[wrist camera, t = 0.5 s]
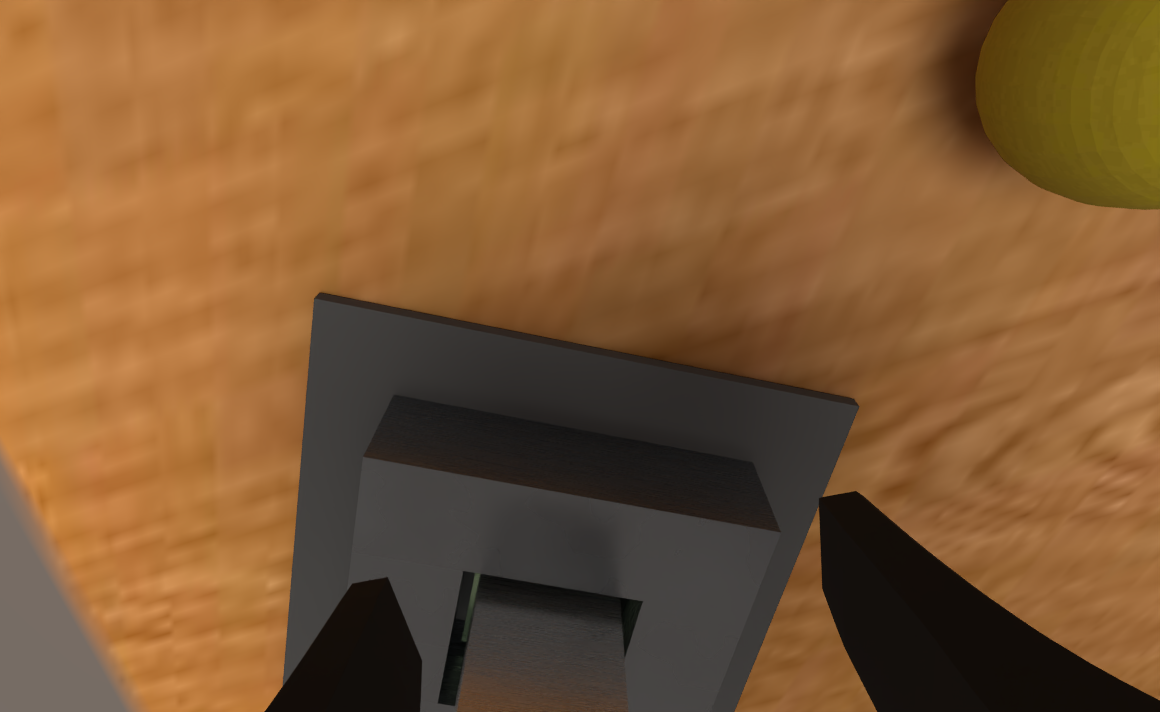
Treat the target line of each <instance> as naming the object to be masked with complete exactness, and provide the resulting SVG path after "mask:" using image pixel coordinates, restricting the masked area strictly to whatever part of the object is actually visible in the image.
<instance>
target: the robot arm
mask: <svg viewBox="0 0 1160 712" xmlns="http://www.w3.org/2000/svg"><path fill="white" fill-rule="evenodd" d="M819 514H820V540H821V565H822V589H823V592H824V594H825V597H826V600H827V603H828V605H829V608H830V611H831V613H832V616H833V619H834V622H835V624H836V627H837V629H838V632H839V634H840V637H841V640H842V642H843V645H844V647H845V649H846V651H847V653H848V655H849V657H850V659H851V661H852V663H853V665H854V667H855V669H856V671H857V673H858V675H859V677H860V679H861V681H862V683H863V685H864V687H865V689H866V691H867V693H868V695H869V696H870V698H871V700H872V702H873V704H874V706H875V708H876V710H877V712H1160V700H1158V699H1156V698H1154V697H1152V696H1150V695H1148V694H1146V693H1144V692H1142V691H1140V690H1138V689H1137V688H1135V687H1133V686H1131V685H1129V684H1127V683H1125V682H1123V681H1121V680H1119V679H1117V678H1116V677H1114V676H1112V675H1110V674H1108V673H1107V672H1105V671H1103V670H1101V669H1100V668H1098V667H1096V666H1094V665H1092V664H1091V663H1089V662H1087V661H1086V660H1084V659H1082V658H1081V657H1079V656H1077V655H1076V654H1074V653H1072V652H1071V651H1069V650H1067V649H1066V648H1064V647H1062V646H1061V645H1059V644H1058V643H1056V642H1054V641H1053V640H1051V639H1049V638H1048V637H1046V636H1045V635H1043V634H1042V633H1040V632H1039V631H1037V630H1035V629H1034V628H1032V627H1031V626H1029V625H1028V624H1026V623H1025V622H1023V621H1022V620H1020V619H1019V618H1018V617H1016V616H1015V615H1013V614H1012V613H1010V612H1009V611H1007V610H1006V609H1005V608H1003V607H1002V606H1000V605H999V604H997V603H996V602H995V601H993V600H992V599H990V598H989V597H988V596H986V595H985V594H983V593H982V592H981V591H979V590H978V589H977V588H975V587H974V586H973V585H971V584H970V583H968V582H967V581H966V580H965V579H963V578H962V577H961V576H959V575H958V574H957V573H956V572H954V571H953V570H952V569H950V568H949V567H948V566H946V565H945V564H944V563H943V562H941V561H940V560H939V559H937V558H936V557H935V556H934V555H932V554H931V553H930V552H929V551H927V550H926V549H925V548H924V547H922V546H921V545H920V544H919V543H918V542H916V541H915V540H914V539H913V538H912V537H910V536H909V535H908V534H907V533H906V532H904V531H903V530H902V529H901V528H900V527H898V526H897V525H896V524H895V523H894V522H893V521H891V520H890V519H889V518H888V517H887V516H886V515H884V514H883V513H882V512H881V511H880V510H879V509H877V508H876V507H875V506H874V505H873V504H872V503H871V502H869V501H868V500H867V499H866V498H865V497H864V496H862V495H861V494H860V493H858V492H857V491H854V492H849V493H843V494H838V495H832V496H827V497H821V498H819ZM421 682H422V659H421V656H420V654H419V652H418V649H417V647H416V644H415V642H414V639H413V637H412V635H411V632H410V630H409V627H408V625H407V622H406V620H405V618H404V615H403V613H402V610H401V608H400V605H399V603H398V601H397V598H396V596H395V593H394V591H393V588H392V586H391V583H390V581H389V579H388V577H385V578H380V579H374V580H369V581H363V582H358V583H352V585H351V586H350V587H349V589H348V590H347V592H346V593H345V595H344V596H343V598H342V599H341V600H340V602H339V603H338V605H337V606H336V608H335V609H334V611H333V612H332V614H331V616H330V617H329V619H328V620H327V622H326V623H325V625H324V626H323V628H322V629H321V631H320V632H319V634H318V635H317V637H316V638H315V640H314V641H313V643H312V644H311V646H310V647H309V649H308V650H307V652H306V653H305V655H304V656H303V658H302V659H301V661H300V662H299V664H298V665H297V666H296V668H295V669H294V671H293V672H292V674H291V675H290V677H289V678H288V679H287V681H286V682H285V684H284V685H283V687H282V688H281V690H280V691H279V692H278V694H277V695H276V697H275V698H274V700H273V701H272V702H271V704H270V705H269V706H268V708H267V709H266V711H265V712H420V704H421Z"/></svg>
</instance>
